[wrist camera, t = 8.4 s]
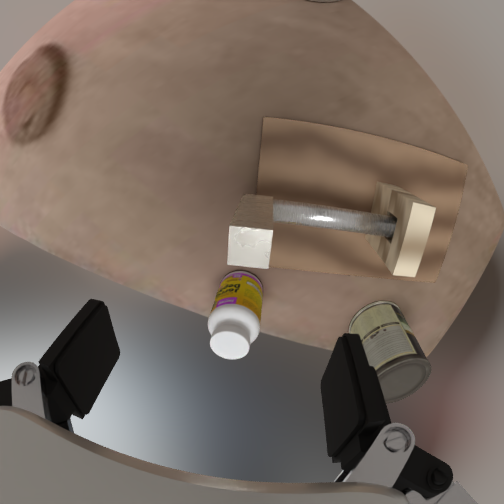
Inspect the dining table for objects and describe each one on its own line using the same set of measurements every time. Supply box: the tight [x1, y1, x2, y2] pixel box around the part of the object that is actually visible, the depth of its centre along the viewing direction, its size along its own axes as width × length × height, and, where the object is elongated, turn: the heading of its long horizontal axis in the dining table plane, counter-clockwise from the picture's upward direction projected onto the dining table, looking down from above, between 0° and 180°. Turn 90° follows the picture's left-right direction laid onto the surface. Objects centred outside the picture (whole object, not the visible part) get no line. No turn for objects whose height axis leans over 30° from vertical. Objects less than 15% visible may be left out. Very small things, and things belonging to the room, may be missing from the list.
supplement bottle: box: [208, 271, 263, 359], centre depth 36 cm, size 7×7×13 cm
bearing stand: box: [256, 117, 468, 283], centre depth 30 cm, size 20×31×12 cm, turn 85°
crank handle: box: [227, 194, 398, 269], centre depth 24 cm, size 18×3×11 cm, turn 85°
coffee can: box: [349, 301, 431, 404], centre depth 37 cm, size 10×10×14 cm
